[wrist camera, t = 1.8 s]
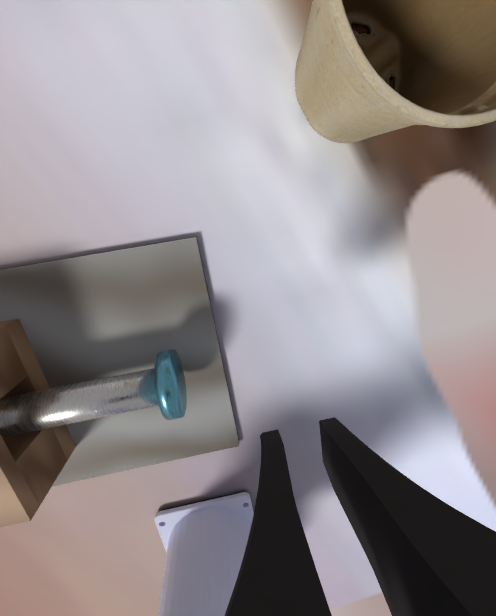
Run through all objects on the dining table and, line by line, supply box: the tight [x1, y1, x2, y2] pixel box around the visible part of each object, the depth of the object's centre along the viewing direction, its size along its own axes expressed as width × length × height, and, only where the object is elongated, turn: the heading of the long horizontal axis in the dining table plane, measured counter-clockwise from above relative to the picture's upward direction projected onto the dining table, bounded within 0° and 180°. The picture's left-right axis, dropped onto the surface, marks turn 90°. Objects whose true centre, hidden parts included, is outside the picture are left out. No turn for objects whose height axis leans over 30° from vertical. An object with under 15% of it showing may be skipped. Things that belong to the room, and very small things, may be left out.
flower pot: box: [295, 0, 496, 143], centre depth 11 cm, size 9×9×9 cm
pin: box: [0, 349, 187, 437], centre depth 16 cm, size 4×12×4 cm, turn 99°
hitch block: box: [0, 237, 240, 527], centre depth 16 cm, size 16×22×6 cm
